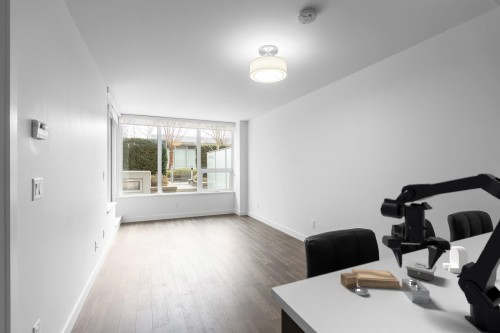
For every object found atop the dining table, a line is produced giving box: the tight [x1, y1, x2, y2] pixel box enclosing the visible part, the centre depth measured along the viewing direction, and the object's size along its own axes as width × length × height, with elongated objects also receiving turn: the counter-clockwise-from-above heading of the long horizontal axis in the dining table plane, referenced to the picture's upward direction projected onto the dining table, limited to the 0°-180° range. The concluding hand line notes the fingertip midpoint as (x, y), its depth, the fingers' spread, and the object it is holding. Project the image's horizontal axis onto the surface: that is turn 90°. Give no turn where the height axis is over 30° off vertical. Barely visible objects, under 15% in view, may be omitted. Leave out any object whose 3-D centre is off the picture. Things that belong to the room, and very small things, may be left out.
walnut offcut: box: [340, 272, 358, 290], centre depth 90 cm, size 4×4×4 cm
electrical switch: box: [404, 259, 437, 282], centre depth 98 cm, size 9×5×9 cm
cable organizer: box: [442, 245, 469, 274], centre depth 103 cm, size 5×10×10 cm, turn 84°
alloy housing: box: [401, 278, 431, 305], centre depth 82 cm, size 8×5×5 cm, turn 168°
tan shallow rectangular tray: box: [351, 268, 400, 289], centre depth 93 cm, size 9×14×3 cm, turn 81°
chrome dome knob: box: [354, 286, 369, 297], centre depth 85 cm, size 4×4×2 cm
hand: (415, 268), depth 82 cm, fingers open, 9 cm apart
